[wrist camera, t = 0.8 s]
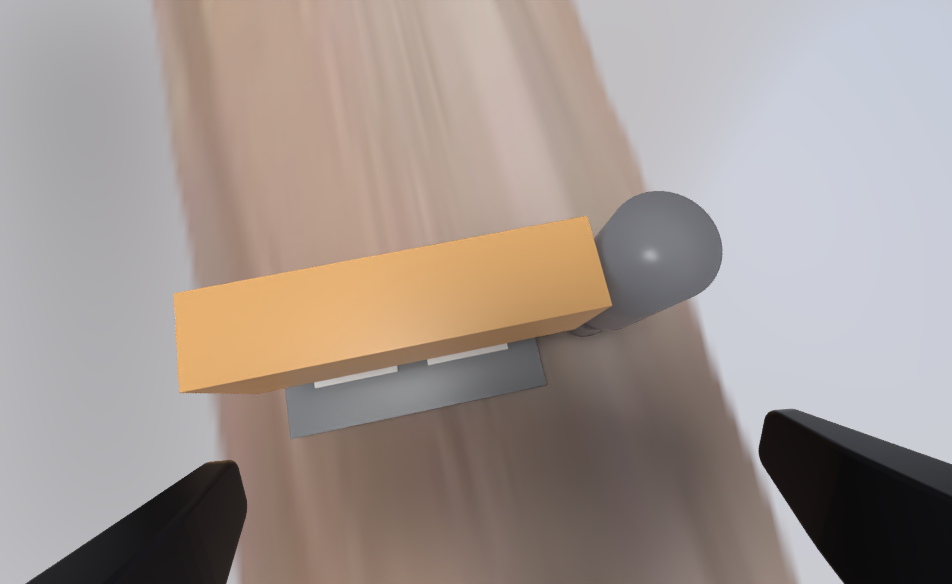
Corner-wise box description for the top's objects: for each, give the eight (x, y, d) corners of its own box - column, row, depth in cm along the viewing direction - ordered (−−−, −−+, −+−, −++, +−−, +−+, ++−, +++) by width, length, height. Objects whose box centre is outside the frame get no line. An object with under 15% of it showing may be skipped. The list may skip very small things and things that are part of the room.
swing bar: (633, 243, 20) (701, 182, 14) (656, 321, 19) (738, 288, 14) (258, 316, 19) (166, 281, 13) (266, 401, 18) (173, 403, 13)
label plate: (513, 257, 24) (516, 249, 23) (543, 385, 23) (547, 385, 22) (283, 301, 24) (272, 295, 22) (298, 437, 22) (287, 439, 21)
